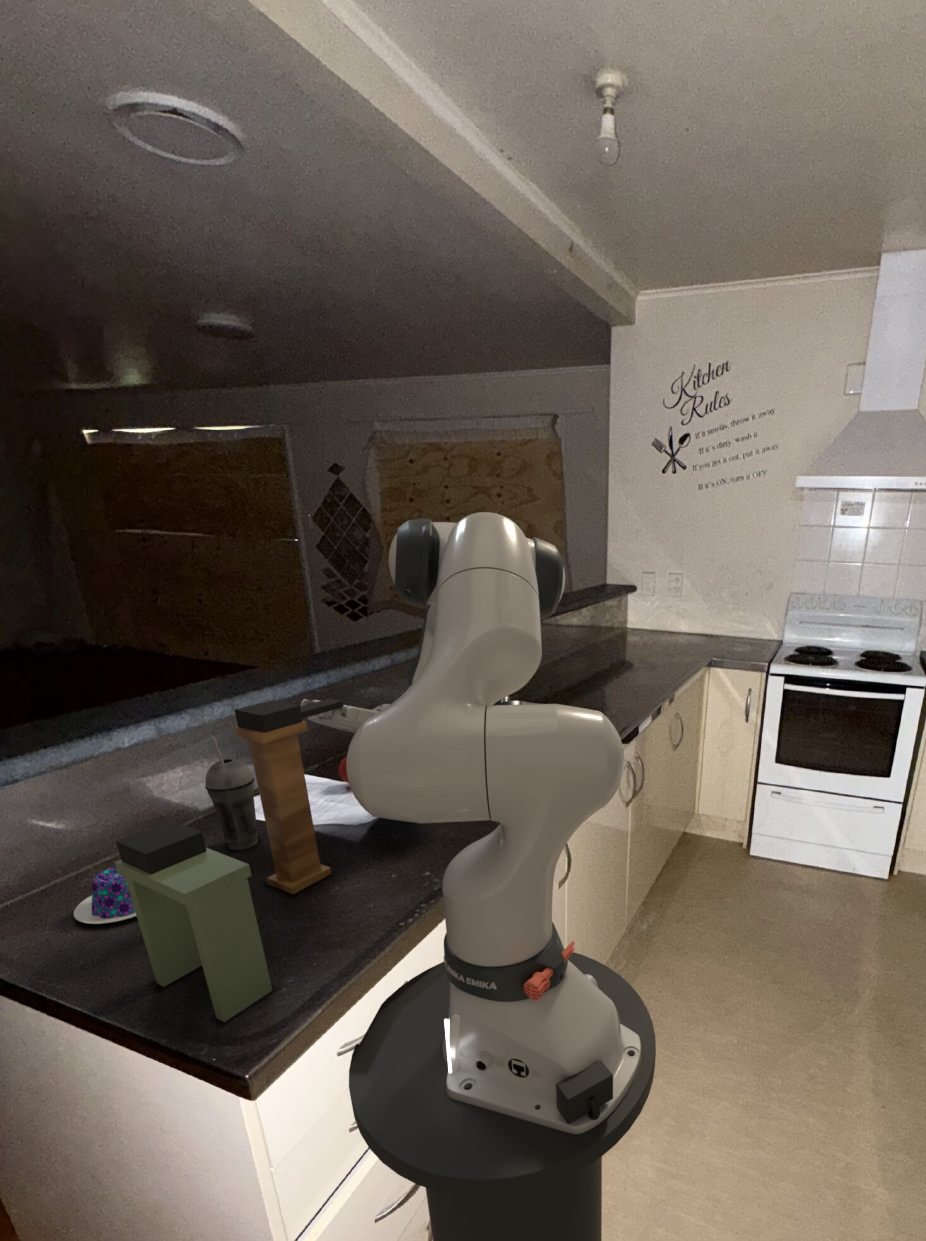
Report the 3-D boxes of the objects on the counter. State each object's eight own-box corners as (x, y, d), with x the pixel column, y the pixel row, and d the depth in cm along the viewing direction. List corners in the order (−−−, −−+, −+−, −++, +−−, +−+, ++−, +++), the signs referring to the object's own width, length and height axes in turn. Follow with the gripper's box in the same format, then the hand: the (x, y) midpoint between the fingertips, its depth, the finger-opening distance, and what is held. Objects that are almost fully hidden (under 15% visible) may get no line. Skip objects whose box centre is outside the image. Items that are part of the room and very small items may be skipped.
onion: (371, 780, 139) (366, 745, 136) (369, 789, 133) (364, 754, 131) (343, 782, 137) (337, 747, 134) (339, 792, 132) (334, 756, 129)
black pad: (350, 708, 99) (348, 692, 98) (264, 732, 87) (261, 715, 86) (324, 703, 101) (321, 688, 100) (237, 726, 89) (234, 709, 88)
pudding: (52, 926, 87) (40, 894, 86) (119, 881, 99) (110, 851, 97) (135, 929, 87) (125, 897, 85) (193, 884, 98) (185, 854, 96)
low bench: (276, 988, 76) (249, 864, 70) (219, 1025, 70) (184, 894, 64) (209, 953, 82) (179, 836, 76) (152, 985, 76) (114, 862, 70)
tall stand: (331, 873, 101) (305, 721, 92) (293, 894, 95) (261, 733, 86) (306, 864, 104) (279, 715, 95) (267, 884, 98) (234, 727, 89)
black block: (207, 851, 73) (202, 831, 72) (151, 874, 68) (145, 854, 67) (177, 839, 75) (172, 820, 75) (121, 861, 70) (115, 841, 70)
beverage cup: (276, 837, 113) (254, 730, 106) (243, 856, 106) (218, 744, 99) (243, 832, 115) (220, 726, 108) (209, 850, 108) (182, 739, 101)
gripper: (351, 706, 115) (286, 681, 103) (436, 721, 106) (376, 696, 94) (342, 739, 114) (275, 718, 102) (426, 757, 105) (364, 737, 93)
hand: (324, 707), depth 98 cm, fingers open, 8 cm apart
